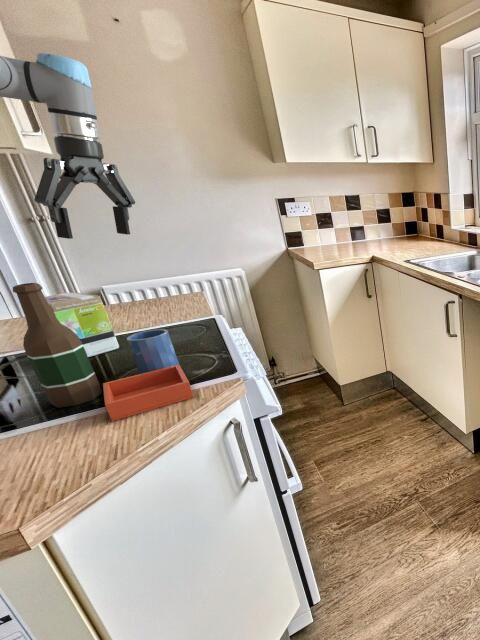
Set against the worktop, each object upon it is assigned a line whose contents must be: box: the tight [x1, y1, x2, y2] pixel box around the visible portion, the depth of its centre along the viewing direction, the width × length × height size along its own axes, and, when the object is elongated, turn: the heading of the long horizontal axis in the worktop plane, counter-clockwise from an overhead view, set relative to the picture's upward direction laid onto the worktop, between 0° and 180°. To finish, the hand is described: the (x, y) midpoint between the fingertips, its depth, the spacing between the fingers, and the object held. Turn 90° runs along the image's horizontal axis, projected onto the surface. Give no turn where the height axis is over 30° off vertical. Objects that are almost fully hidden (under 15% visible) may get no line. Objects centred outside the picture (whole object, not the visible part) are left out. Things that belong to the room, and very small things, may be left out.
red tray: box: [102, 364, 195, 422], centre depth 85 cm, size 13×13×4 cm
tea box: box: [45, 291, 120, 358], centre depth 109 cm, size 15×10×15 cm
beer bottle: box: [12, 282, 102, 409], centre depth 82 cm, size 8×8×24 cm
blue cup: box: [126, 328, 180, 374], centre depth 94 cm, size 7×7×10 cm
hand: (96, 235), depth 100 cm, fingers open, 13 cm apart
